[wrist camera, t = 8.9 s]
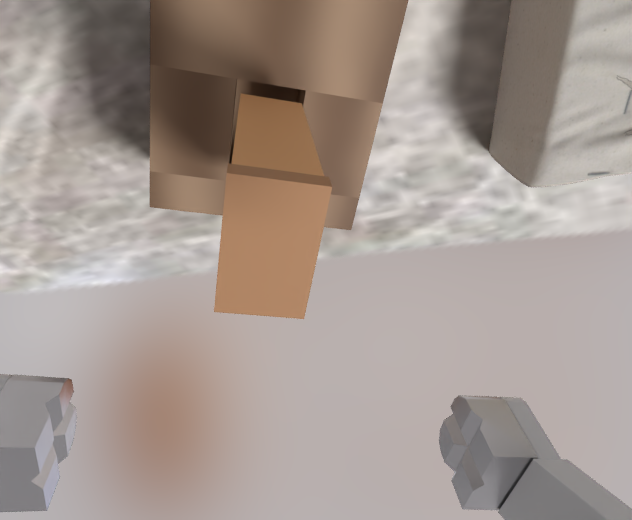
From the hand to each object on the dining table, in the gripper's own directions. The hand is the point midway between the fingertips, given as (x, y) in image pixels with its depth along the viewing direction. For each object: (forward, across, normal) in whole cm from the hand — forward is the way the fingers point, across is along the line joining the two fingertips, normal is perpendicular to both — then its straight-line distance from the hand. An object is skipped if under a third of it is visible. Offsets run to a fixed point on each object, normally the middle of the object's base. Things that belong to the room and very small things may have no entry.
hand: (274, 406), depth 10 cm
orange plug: (+17, 0, 0) cm, 17 cm away
